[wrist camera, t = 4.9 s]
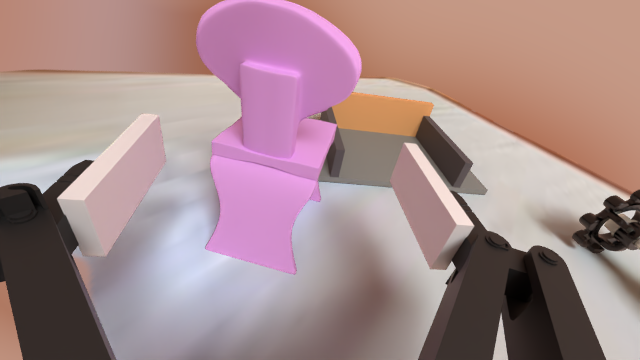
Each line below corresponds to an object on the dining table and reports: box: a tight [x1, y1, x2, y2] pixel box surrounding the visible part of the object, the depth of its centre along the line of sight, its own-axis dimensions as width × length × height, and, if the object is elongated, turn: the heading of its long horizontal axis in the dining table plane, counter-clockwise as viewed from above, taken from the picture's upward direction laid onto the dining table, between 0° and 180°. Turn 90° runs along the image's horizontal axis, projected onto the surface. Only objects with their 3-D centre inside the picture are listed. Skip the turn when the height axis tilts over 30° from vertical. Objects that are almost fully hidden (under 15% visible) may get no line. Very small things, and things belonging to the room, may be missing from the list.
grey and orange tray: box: [309, 92, 487, 195], centre depth 33 cm, size 20×13×5 cm, turn 95°
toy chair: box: [196, 0, 361, 275], centre depth 19 cm, size 8×9×15 cm
